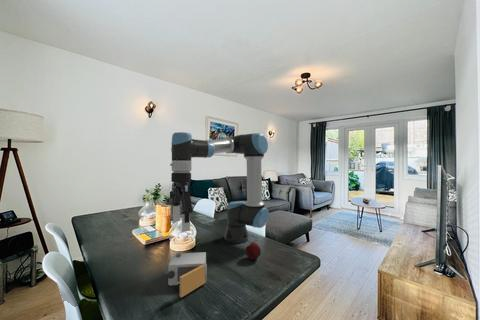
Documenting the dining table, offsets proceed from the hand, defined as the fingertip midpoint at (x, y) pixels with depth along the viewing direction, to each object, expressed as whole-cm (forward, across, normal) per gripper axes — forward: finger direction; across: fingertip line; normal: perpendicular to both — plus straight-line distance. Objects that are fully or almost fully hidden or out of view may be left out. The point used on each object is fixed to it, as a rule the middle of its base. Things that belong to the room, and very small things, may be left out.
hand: (180, 225), depth 81 cm
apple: (+23, -3, +37) cm, 44 cm away
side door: (+22, +6, +3) cm, 23 cm away
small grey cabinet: (+23, -4, +4) cm, 24 cm away
